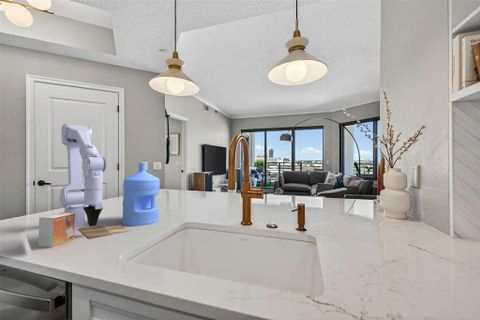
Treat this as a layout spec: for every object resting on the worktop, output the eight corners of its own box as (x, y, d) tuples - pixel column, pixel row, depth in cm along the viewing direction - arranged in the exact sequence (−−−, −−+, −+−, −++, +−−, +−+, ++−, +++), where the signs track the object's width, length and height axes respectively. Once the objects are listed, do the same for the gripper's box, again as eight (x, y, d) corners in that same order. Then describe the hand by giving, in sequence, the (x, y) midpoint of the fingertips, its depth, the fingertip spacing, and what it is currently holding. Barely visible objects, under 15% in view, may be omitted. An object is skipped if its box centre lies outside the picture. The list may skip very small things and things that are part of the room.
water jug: (113, 226, 101) (115, 163, 101) (139, 218, 116) (140, 163, 116) (143, 230, 97) (144, 163, 97) (165, 221, 112) (167, 163, 112)
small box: (51, 251, 72) (52, 218, 73) (37, 250, 74) (38, 217, 74) (74, 243, 80) (75, 212, 80) (61, 241, 81) (62, 211, 82)
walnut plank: (78, 231, 92) (78, 228, 92) (100, 228, 98) (100, 225, 98) (88, 241, 81) (89, 238, 81) (113, 237, 87) (113, 234, 87)
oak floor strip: (101, 228, 98) (101, 225, 98) (117, 225, 103) (117, 223, 103) (114, 237, 87) (114, 234, 87) (131, 233, 92) (131, 230, 92)
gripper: (76, 188, 88) (75, 223, 87) (86, 191, 78) (85, 232, 77) (97, 186, 93) (96, 220, 93) (109, 190, 83) (108, 228, 83)
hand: (92, 225), depth 85 cm, fingers closed
